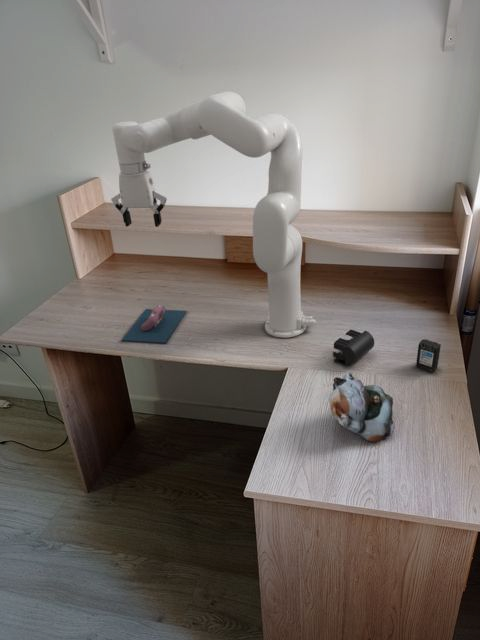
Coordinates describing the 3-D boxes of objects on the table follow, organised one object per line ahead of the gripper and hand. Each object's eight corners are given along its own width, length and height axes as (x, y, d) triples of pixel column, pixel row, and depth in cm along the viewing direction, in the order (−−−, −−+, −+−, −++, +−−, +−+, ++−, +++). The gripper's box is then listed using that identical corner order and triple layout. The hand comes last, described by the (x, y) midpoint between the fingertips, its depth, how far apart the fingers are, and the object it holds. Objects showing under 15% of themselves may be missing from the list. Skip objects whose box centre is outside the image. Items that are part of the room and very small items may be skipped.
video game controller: (152, 336, 159) (159, 319, 155) (139, 330, 159) (145, 312, 155) (163, 321, 168) (170, 304, 164) (151, 315, 167) (157, 298, 163)
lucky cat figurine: (393, 448, 111) (368, 411, 103) (342, 452, 118) (315, 418, 110) (398, 392, 120) (375, 355, 113) (351, 399, 127) (326, 364, 119)
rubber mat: (186, 312, 170) (186, 310, 170) (165, 344, 154) (165, 342, 153) (146, 310, 173) (146, 309, 172) (121, 341, 156) (121, 339, 156)
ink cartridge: (415, 367, 136) (418, 342, 132) (419, 363, 138) (422, 338, 134) (433, 373, 134) (437, 347, 129) (437, 369, 135) (441, 343, 131)
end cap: (354, 371, 137) (356, 349, 133) (332, 362, 141) (332, 341, 137) (373, 354, 143) (375, 333, 139) (351, 346, 147) (352, 325, 143)
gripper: (165, 164, 152) (173, 221, 161) (111, 165, 155) (122, 221, 164) (156, 171, 146) (165, 229, 155) (100, 171, 149) (112, 229, 158)
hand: (143, 225), depth 160 cm, fingers open, 9 cm apart
